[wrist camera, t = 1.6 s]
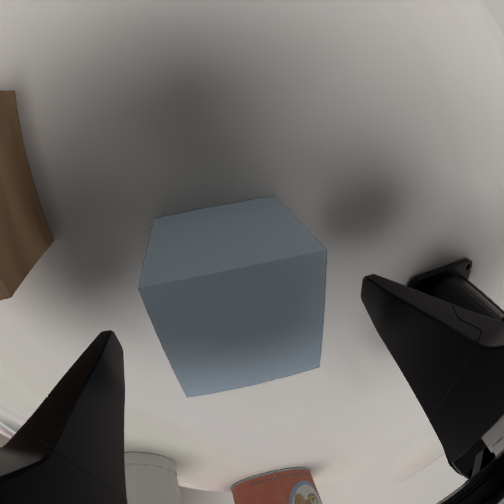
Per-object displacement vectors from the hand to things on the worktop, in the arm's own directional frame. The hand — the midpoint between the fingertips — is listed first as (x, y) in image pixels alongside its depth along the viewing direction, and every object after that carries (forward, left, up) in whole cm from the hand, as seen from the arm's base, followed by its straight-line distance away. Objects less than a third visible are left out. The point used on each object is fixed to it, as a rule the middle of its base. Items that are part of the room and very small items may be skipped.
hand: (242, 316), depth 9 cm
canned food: (0, +36, -4) cm, 36 cm away
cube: (0, 0, -4) cm, 4 cm away
